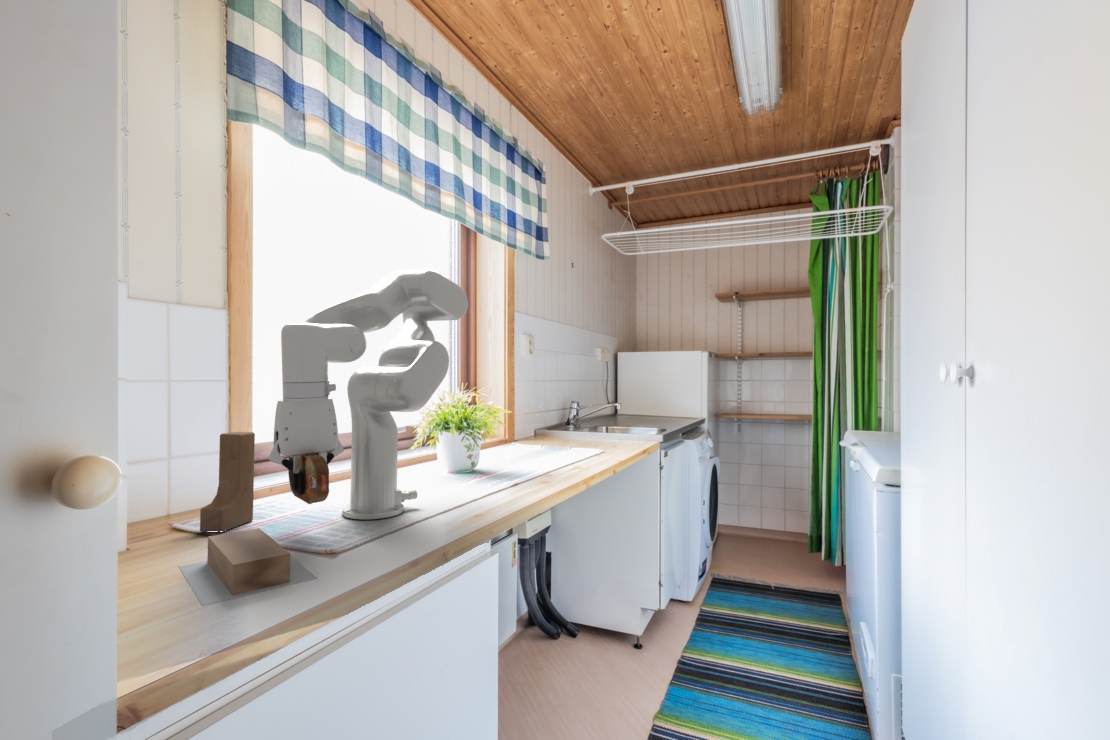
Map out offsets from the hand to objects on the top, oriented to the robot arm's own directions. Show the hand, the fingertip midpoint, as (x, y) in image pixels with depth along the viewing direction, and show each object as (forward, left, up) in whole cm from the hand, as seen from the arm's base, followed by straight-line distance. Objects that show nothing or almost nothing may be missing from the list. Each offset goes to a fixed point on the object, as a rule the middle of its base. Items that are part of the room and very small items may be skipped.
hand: (308, 490), depth 98 cm
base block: (+13, +15, -8) cm, 21 cm away
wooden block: (+9, -17, -9) cm, 21 cm away
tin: (0, 0, -2) cm, 2 cm away
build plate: (+13, +15, -9) cm, 22 cm away
